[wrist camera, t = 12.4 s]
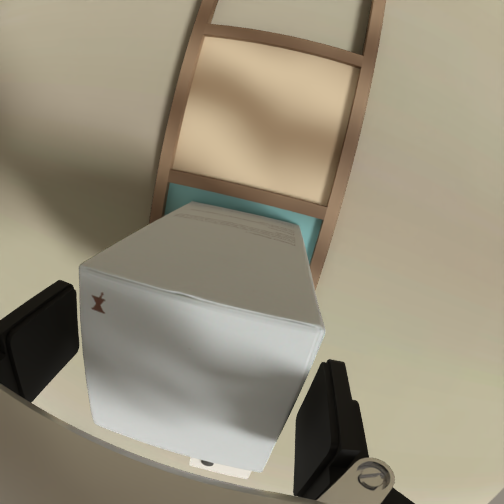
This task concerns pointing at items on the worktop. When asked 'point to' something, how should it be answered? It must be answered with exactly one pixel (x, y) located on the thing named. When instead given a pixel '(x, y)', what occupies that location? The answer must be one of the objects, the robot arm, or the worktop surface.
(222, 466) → the die
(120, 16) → the worktop surface
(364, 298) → the worktop surface
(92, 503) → the robot arm
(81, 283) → the supplement box
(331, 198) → the board
